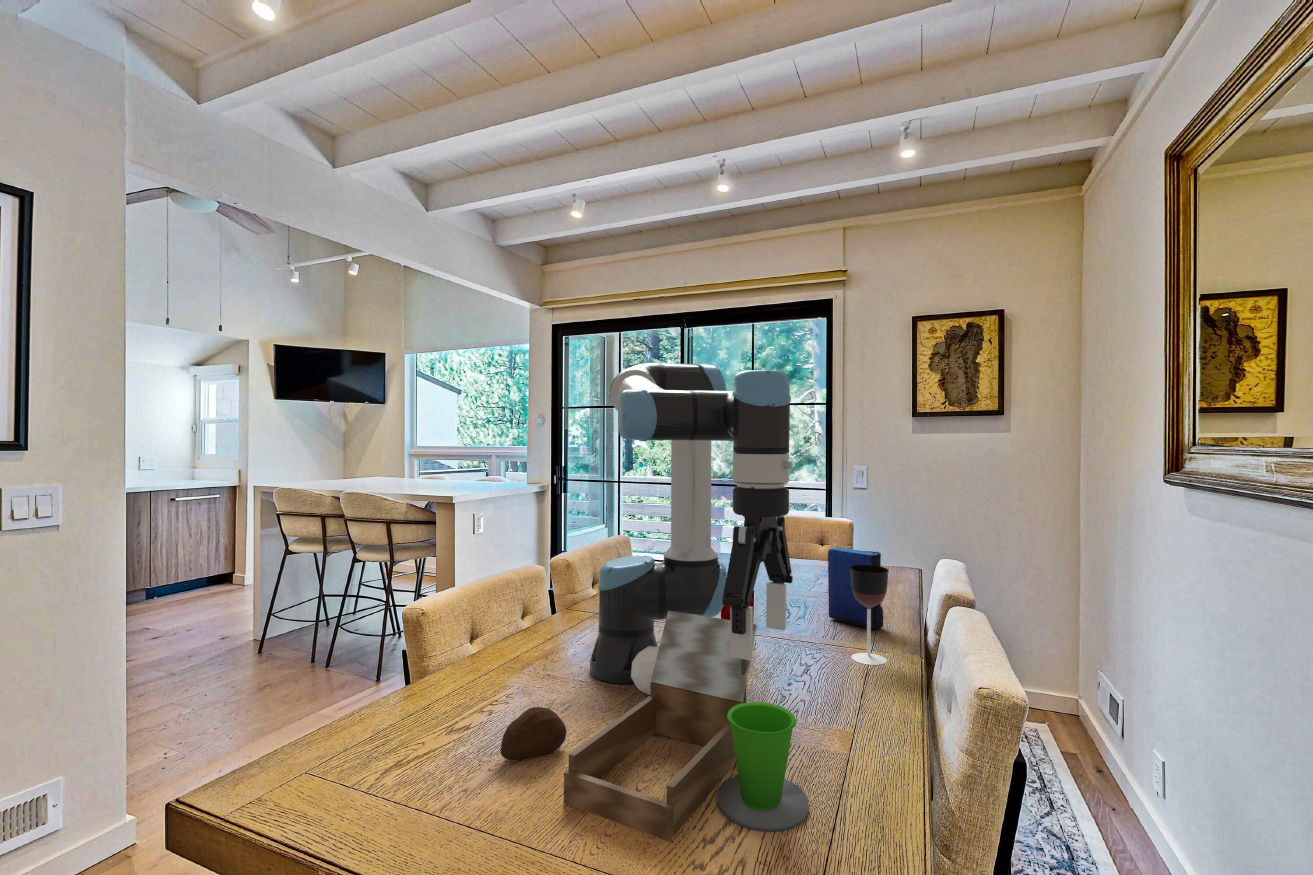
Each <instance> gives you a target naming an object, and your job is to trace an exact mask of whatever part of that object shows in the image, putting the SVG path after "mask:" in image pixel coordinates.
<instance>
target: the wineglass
mask: <svg viewBox="0 0 1313 875" xmlns="http://www.w3.org/2000/svg"><path fill="white" fill-rule="evenodd" d="M850 574H851V587H852V592H853V595H854V597H855V598H856V600H857V601H858V602H859V603H861V604H862V605H864V606H865V607H867V627H866V641H867V642H866V652H857V653H854V654H851V656H850V658H851V659H852V660H853V661H855V662H857V663H860V664H865V665H869V666H870V665H872V666H876V665H877V666H878V665H884V664H886V663H887V661H888V660H887V658H885V657H884V656H882V655H880V654H875V653H871V651H872V650H871V649H872V648H871V643H872V640H871V639H872V638H871V636H872V634H871V633H872V631H871V630H872V629H871V608H872V607H874V606H876V605H878V604H880V603H881V604H882V602H883V601H884V599H885V597H886V595H887V591H888V583H889V569H888V568H886V567H884V566H881V567H880V566H874V565H854V566H851V567H850Z"/></svg>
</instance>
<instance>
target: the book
mask: <svg viewBox="0 0 1313 875" xmlns="http://www.w3.org/2000/svg"><path fill="white" fill-rule="evenodd" d="M881 554H882V553H881V552H879V551H872V550H871V551H870V550H861V549H860V550H859V549H858V550H857V549H852V548H851V549H850V548H845V547H839V546H837V547H833V548H829V549H828V551H827V571H828V572H827V573H828V574H827V575H828V576H827V577H828V578H827V579H828V583H827V584H828V585H827V586H828V587H827V588H828V591H827V592H828V617H829V618H830V619H832V620H834V621H838V622H839V621H840V622H842V623H848V624H850V625H854V626H859V627H863V628H867V607H865V606H864V605H862V604H861V603H859V602H858V601H857V600H856V598H855V597H854V595H853V592H852V587H851V574H850V567H851V566H854V565H874V566H880V567H882V566H881V565H882V564H881V563H882V562H881V559H882V555H881ZM883 627H884V609H883V607H882V602H881V603H880V604H878V605H876V606H874V607H872V608H871V630H878V629H882V628H883Z"/></svg>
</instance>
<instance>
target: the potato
mask: <svg viewBox="0 0 1313 875" xmlns="http://www.w3.org/2000/svg"><path fill="white" fill-rule="evenodd" d="M567 732H568V731H567V727H566V724H565V723H564V721H563V720H562V718H560V716H559V715H558V714H557V713H556V712H554V710H551V709H550V708H547V707H541V706H533V707H529V708H527V709H526V710H524V711H523V712H522V713H521V714H519V716H518V717H517V718H516V719H514V720H513V721H512V722H510V723H509V725H508V726H507V727H506V728H505V731H504V733H503V735H502V740H501V744H500V755H501V756H502V758H504V759H505V760H507V761H512V762H522V761H529V760H531V759H535V758H539V757H545V756H546V757H547V756H549V755H551V754H553V753H555V752H556V751H558V750H559V749H560V747H561V746H562V745H563V743H564V742H565V740H566V738H567Z"/></svg>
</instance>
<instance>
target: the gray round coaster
mask: <svg viewBox="0 0 1313 875" xmlns="http://www.w3.org/2000/svg"><path fill="white" fill-rule="evenodd" d="M716 791H717V792H716V804H717V805H716V806H717V807H718V809H719V811H720V813H721V814H722V815H723V816H724V817H725V818H727V819H728V820H729V821H730V822H732V823H734V824H735V825H737V826H740V827H742V828H745V829H747V830H751V831H757V832H763V833H779V832H784V831H785V832H786V831H789V830H792V829H794V828H797V827H799V826H800V825H802V824H803V823H804V822H805V821H806V819H807V818H808V816H809V812H810V811H809V799H808V796H807V795H806V793H805V791H803V789H802V788H801V787H799V786H798V785H797V784H795V783H794V782H792V781H790V780H788V779H787V778H785V779H784V785H783V791H782V797H781V801H780V803H779V805H778V807H776V808H775V809H772V810H768V811H761V810H756V809H753V808H750V807H749V806H747V805H746V804H745V803H744V801H743V799H742V797H741V791H740V785H739V778H738V774H737V775H734V776H730V777H729V778H727V779H725V780H724V781H722V782H721V784H720V785H719V787H718V788H717V790H716Z"/></svg>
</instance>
